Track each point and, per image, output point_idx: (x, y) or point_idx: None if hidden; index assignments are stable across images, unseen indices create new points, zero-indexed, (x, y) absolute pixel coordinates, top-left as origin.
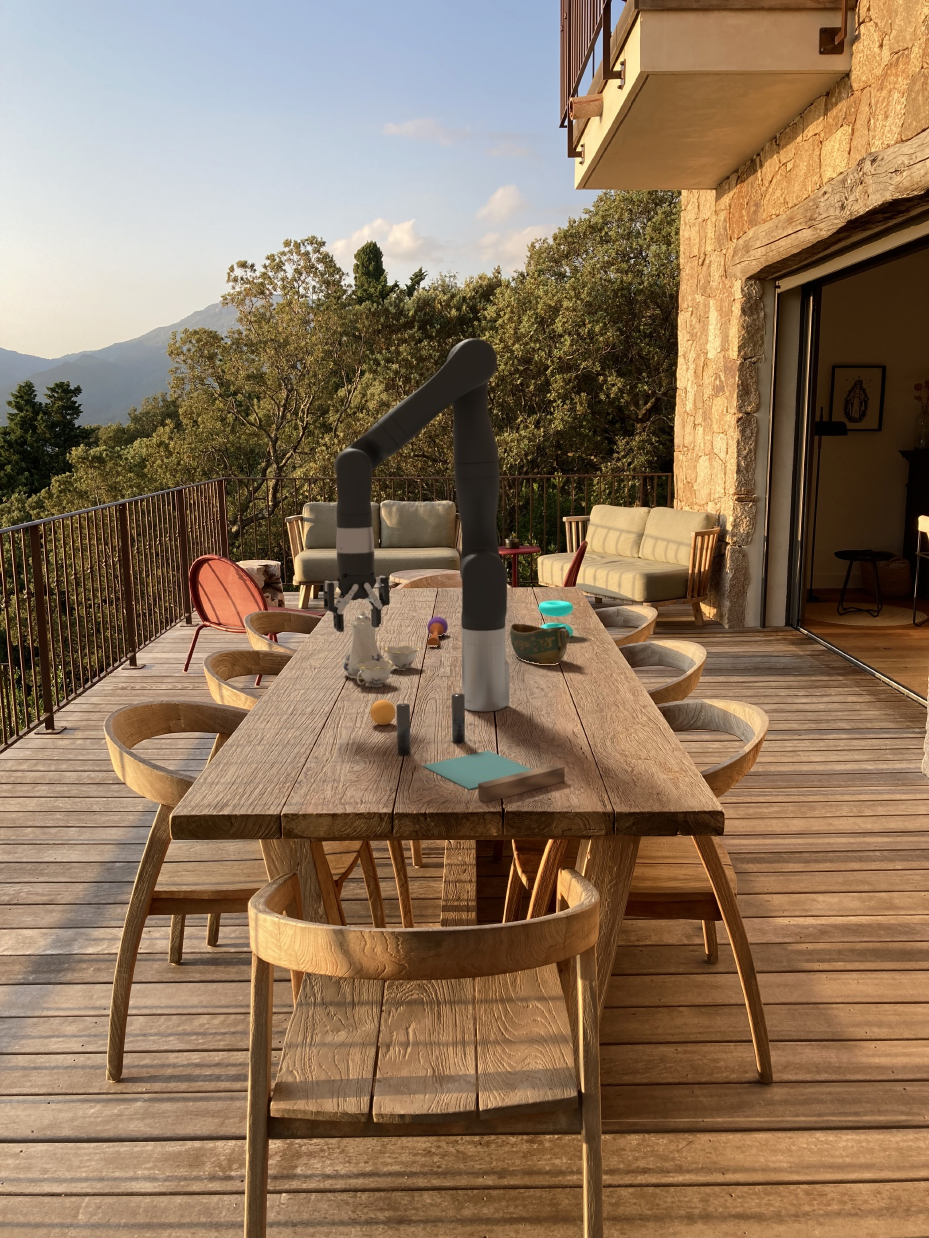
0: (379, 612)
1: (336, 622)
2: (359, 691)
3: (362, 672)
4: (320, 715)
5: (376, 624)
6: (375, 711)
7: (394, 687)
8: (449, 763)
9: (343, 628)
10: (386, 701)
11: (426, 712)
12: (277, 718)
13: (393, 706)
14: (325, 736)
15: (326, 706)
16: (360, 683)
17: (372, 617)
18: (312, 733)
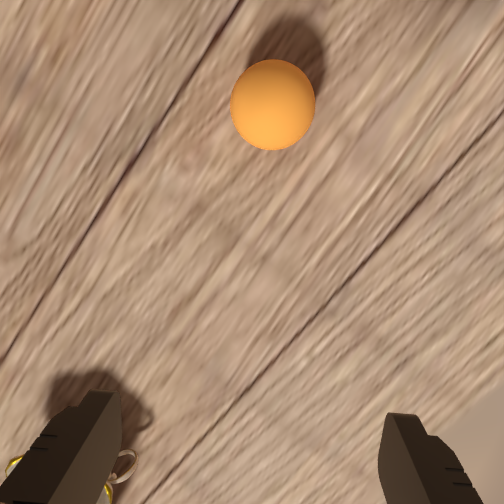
0: (18, 487)
1: (471, 489)
2: (149, 426)
3: (113, 476)
4: (354, 306)
5: (109, 400)
6: (312, 90)
7: (53, 403)
8: None
9: (401, 425)
10: (264, 89)
11: (97, 137)
12: (455, 352)
13: (243, 77)
14: (471, 116)
15: (293, 366)
16: (133, 450)
17: (93, 489)
18: (478, 169)
